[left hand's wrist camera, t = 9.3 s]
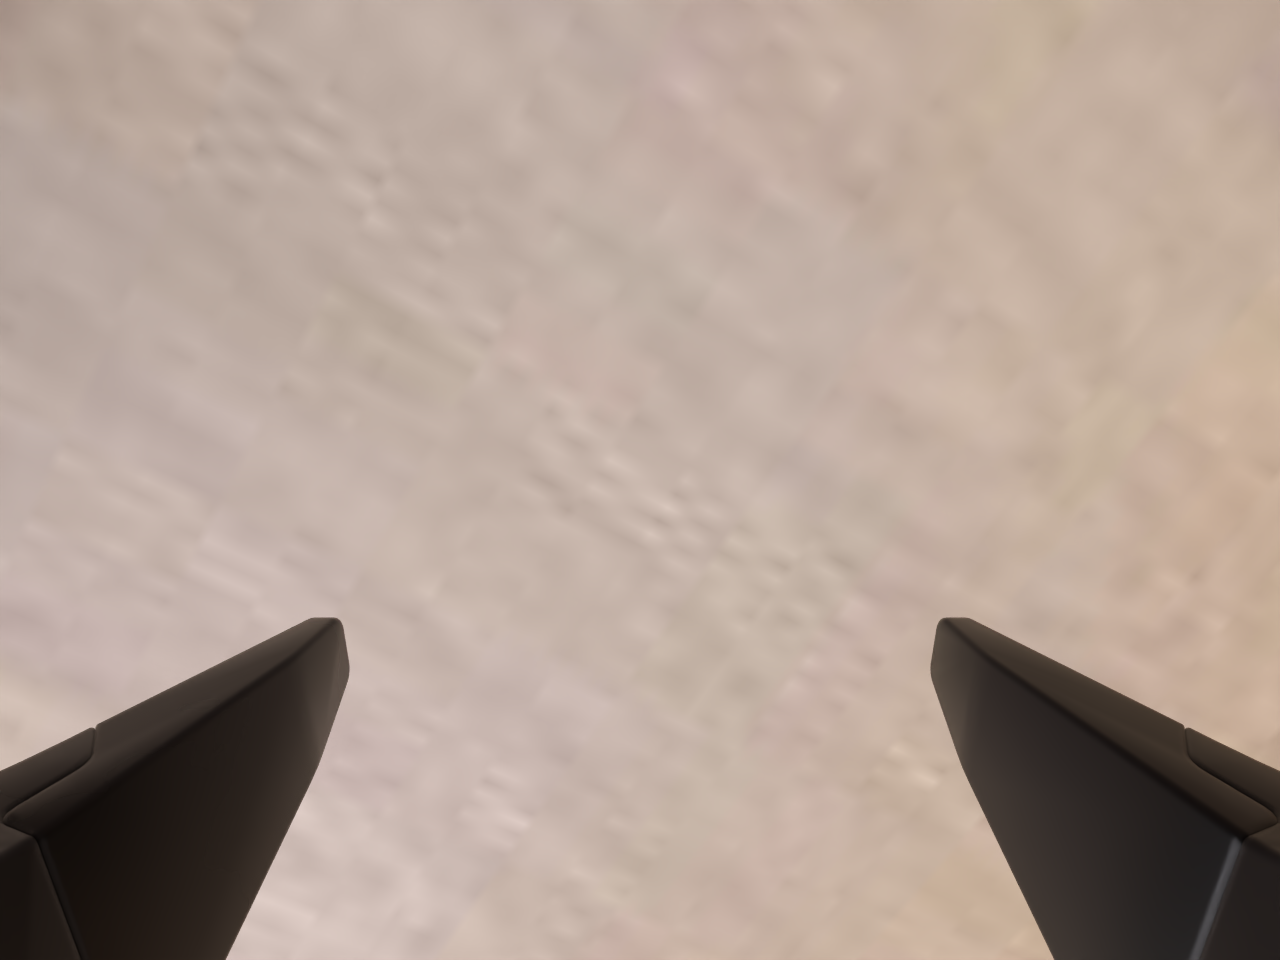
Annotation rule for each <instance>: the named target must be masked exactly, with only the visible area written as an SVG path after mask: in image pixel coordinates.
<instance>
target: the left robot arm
mask: <svg viewBox="0 0 1280 960" xmlns="http://www.w3.org/2000/svg"><path fill="white" fill-rule="evenodd" d="M348 678H349V660H348V653H347V647H346V641H345V635H344V629H343V625H342V623H341V621H340V620H339V619H337V618H310V619H308V620H306V621H304V622H302V623H300V624H298V625H296V626H294V627H292V628H290V629H288V630H286V631H284V632H282V633H280V634H278V635H276V636H274V637H272V638H270V639H268V640H266V641H264V642H262V643H260V644H258V645H256V646H254V647H252V648H250V649H248V650H246V651H244V652H242V653H240V654H238V655H236V656H234V657H232V658H230V659H228V660H226V661H224V662H222V663H220V664H218V665H216V666H214V667H212V668H210V669H208V670H206V671H204V672H202V673H200V674H198V675H196V676H194V677H192V678H190V679H188V680H186V681H184V682H182V683H180V684H178V685H176V686H174V687H172V688H170V689H167V690H165V691H163V692H161V693H159V694H157V695H155V696H153V697H151V698H149V699H147V700H145V701H143V702H141V703H139V704H137V705H135V706H133V707H131V708H129V709H127V710H125V711H123V712H121V713H119V714H117V715H115V716H113V717H111V718H109V719H107V720H105V721H103V722H101V723H99V724H97V725H96V728H95V729H94V728H89V729H87V730H85V731H83V732H81V733H79V734H77V735H75V736H73V737H71V738H69V739H67V740H65V741H63V742H61V743H59V744H57V745H55V746H52V747H50V748H48V749H46V750H44V751H42V752H40V753H38V754H36V755H34V756H32V757H30V758H28V759H25V760H23V761H21V762H19V763H17V764H15V765H12V766H10V767H8V768H6V769H4V770H1V771H0V960H226V958H227V956H228V954H229V952H230V950H231V948H232V945H233V943H234V941H235V939H236V937H237V935H238V933H239V931H240V929H241V927H242V925H243V923H244V920H245V918H246V916H247V914H248V912H249V910H250V908H251V906H252V904H253V902H254V900H255V898H256V895H257V893H258V891H259V889H260V887H261V885H262V883H263V881H264V879H265V877H266V875H267V873H268V870H269V868H270V866H271V864H272V862H273V860H274V858H275V856H276V854H277V852H278V850H279V848H280V846H281V843H282V841H283V839H284V837H285V835H286V833H287V831H288V829H289V827H290V825H291V823H292V821H293V818H294V816H295V814H296V812H297V810H298V808H299V806H300V804H301V802H302V800H303V798H304V796H305V793H306V791H307V789H308V787H309V785H310V783H311V781H312V779H313V776H314V774H315V772H316V770H317V768H318V765H319V762H320V760H321V757H322V754H323V752H324V749H325V746H326V743H327V740H328V737H329V734H330V731H331V728H332V725H333V722H334V720H335V717H336V714H337V711H338V708H339V705H340V702H341V699H342V696H343V693H344V690H345V688H346V685H347V682H348ZM931 678H932V682H933V685H934V688H935V690H936V693H937V696H938V699H939V702H940V705H941V708H942V711H943V714H944V717H945V720H946V722H947V725H948V728H949V731H950V734H951V737H952V740H953V743H954V746H955V749H956V752H957V754H958V757H959V760H960V762H961V765H962V768H963V770H964V772H965V774H966V776H967V779H968V781H969V783H970V785H971V787H972V789H973V791H974V793H975V796H976V798H977V800H978V802H979V804H980V806H981V808H982V810H983V812H984V814H985V816H986V818H987V821H988V823H989V825H990V827H991V829H992V831H993V833H994V835H995V837H996V839H997V841H998V843H999V846H1000V848H1001V850H1002V852H1003V854H1004V856H1005V858H1006V860H1007V862H1008V864H1009V866H1010V868H1011V870H1012V873H1013V875H1014V877H1015V879H1016V881H1017V883H1018V885H1019V887H1020V889H1021V891H1022V893H1023V895H1024V898H1025V900H1026V902H1027V904H1028V906H1029V908H1030V910H1031V912H1032V914H1033V916H1034V918H1035V920H1036V923H1037V925H1038V927H1039V929H1040V931H1041V933H1042V935H1043V937H1044V939H1045V941H1046V943H1047V945H1048V948H1049V950H1050V952H1051V954H1052V956H1053V958H1054V960H1280V771H1279V770H1276V769H1274V768H1272V767H1270V766H1268V765H1265V764H1263V763H1261V762H1259V761H1257V760H1255V759H1252V758H1250V757H1248V756H1246V755H1244V754H1242V753H1240V752H1238V751H1236V750H1234V749H1232V748H1230V747H1228V746H1225V745H1223V744H1221V743H1219V742H1217V741H1215V740H1213V739H1211V738H1209V737H1207V736H1205V735H1203V734H1201V733H1199V732H1197V731H1195V730H1193V729H1191V728H1186V729H1185V728H1184V725H1183V724H1181V723H1179V722H1177V721H1175V720H1173V719H1171V718H1169V717H1167V716H1165V715H1163V714H1161V713H1159V712H1157V711H1155V710H1153V709H1151V708H1149V707H1147V706H1145V705H1143V704H1141V703H1139V702H1137V701H1135V700H1133V699H1131V698H1129V697H1127V696H1125V695H1123V694H1121V693H1119V692H1117V691H1115V690H1113V689H1110V688H1108V687H1106V686H1104V685H1102V684H1100V683H1098V682H1096V681H1094V680H1092V679H1090V678H1088V677H1086V676H1084V675H1082V674H1080V673H1078V672H1076V671H1074V670H1072V669H1070V668H1068V667H1066V666H1064V665H1062V664H1060V663H1058V662H1056V661H1054V660H1052V659H1050V658H1048V657H1046V656H1044V655H1042V654H1040V653H1038V652H1036V651H1034V650H1032V649H1030V648H1028V647H1026V646H1024V645H1022V644H1020V643H1018V642H1016V641H1014V640H1012V639H1010V638H1008V637H1006V636H1004V635H1002V634H1000V633H998V632H996V631H994V630H992V629H990V628H988V627H986V626H984V625H982V624H980V623H978V622H976V621H974V620H972V619H970V618H943V619H941V620H940V621H939V623H938V625H937V629H936V635H935V641H934V647H933V653H932V660H931Z"/></svg>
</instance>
